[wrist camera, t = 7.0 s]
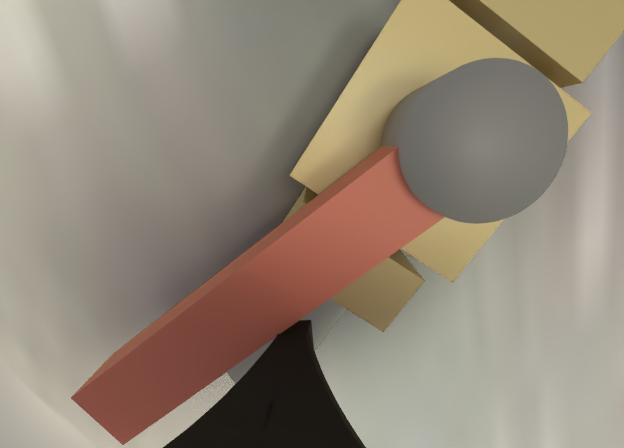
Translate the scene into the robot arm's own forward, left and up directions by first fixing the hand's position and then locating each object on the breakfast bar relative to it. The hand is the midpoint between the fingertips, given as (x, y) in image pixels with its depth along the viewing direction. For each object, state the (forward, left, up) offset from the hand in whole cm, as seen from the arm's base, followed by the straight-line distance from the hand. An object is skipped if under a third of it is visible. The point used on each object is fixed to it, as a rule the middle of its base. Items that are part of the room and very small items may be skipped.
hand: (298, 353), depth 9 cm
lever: (0, -3, -1) cm, 3 cm away
